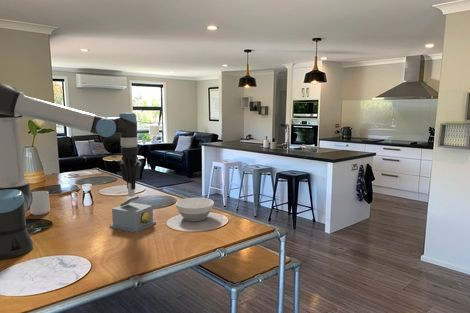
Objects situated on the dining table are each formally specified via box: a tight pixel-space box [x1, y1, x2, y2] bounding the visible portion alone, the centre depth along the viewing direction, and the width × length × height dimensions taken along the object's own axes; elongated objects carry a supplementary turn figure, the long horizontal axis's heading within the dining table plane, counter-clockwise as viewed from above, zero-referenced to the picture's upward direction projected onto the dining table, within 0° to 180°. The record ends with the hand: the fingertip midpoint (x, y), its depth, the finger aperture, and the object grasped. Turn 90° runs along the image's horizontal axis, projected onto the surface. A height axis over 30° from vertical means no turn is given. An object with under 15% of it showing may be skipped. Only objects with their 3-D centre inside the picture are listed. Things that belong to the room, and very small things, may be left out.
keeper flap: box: [119, 196, 140, 206], centre depth 159 cm, size 8×5×1 cm, turn 64°
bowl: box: [175, 197, 215, 222], centre depth 171 cm, size 19×20×8 cm
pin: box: [141, 212, 151, 223], centre depth 160 cm, size 18×5×5 cm, turn 64°
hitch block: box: [109, 202, 157, 234], centre depth 160 cm, size 16×14×9 cm
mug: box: [29, 190, 51, 216], centre depth 179 cm, size 12×9×11 cm
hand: (131, 195), depth 159 cm, fingers closed
